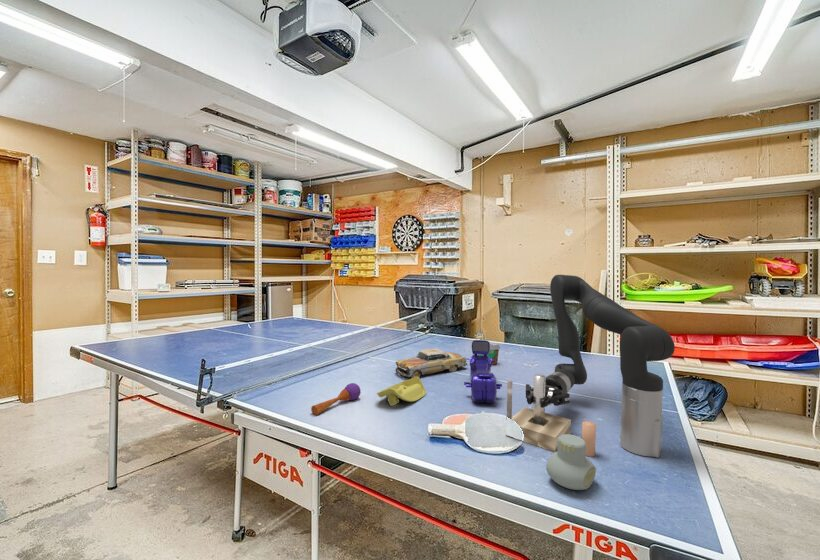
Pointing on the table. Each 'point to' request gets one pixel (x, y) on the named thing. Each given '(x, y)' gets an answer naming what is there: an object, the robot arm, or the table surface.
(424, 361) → the car
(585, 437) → the terracotta pin
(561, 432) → the socket block
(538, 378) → the steel pin
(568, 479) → the air freshener
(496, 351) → the food container
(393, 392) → the plastic component
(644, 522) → the table surface
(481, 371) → the motorcycle
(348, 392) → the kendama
